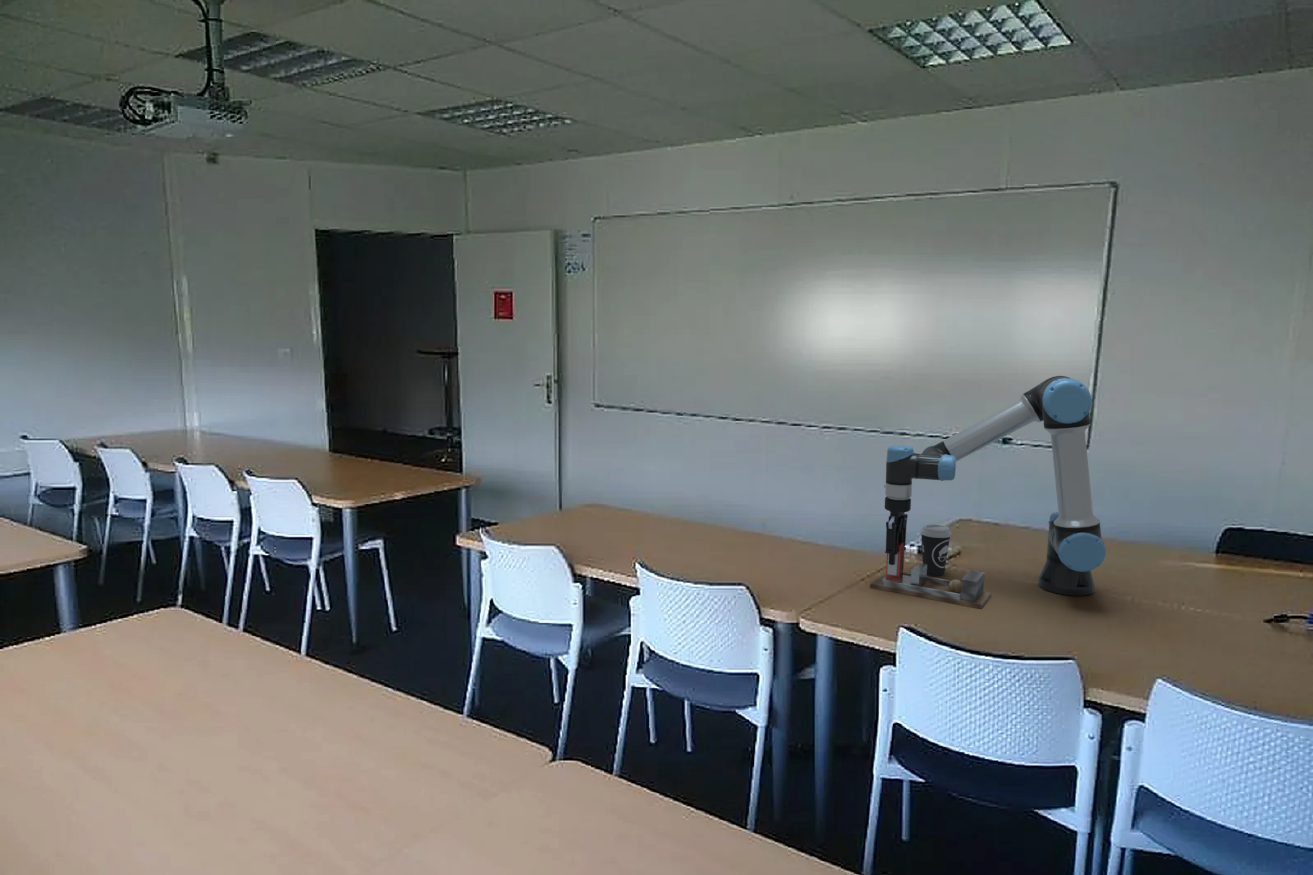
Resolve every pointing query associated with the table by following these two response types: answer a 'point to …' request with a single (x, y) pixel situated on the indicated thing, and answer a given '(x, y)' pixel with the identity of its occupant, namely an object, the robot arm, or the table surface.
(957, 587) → the nut
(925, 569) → the ram
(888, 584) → the bench
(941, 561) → the coffee cup
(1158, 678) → the table surface
